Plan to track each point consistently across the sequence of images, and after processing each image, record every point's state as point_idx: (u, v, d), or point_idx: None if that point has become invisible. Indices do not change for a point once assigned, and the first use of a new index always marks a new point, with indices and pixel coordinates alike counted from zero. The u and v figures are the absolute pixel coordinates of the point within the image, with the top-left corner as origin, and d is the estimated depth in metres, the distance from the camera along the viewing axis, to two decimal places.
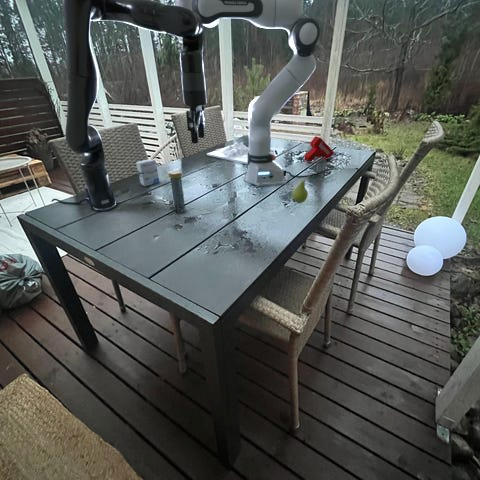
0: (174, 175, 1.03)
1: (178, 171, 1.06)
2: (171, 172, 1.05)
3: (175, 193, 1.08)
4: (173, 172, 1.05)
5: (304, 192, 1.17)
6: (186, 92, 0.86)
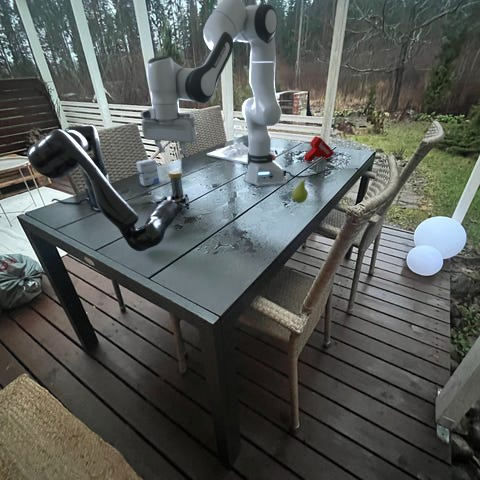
0: (174, 175, 1.03)
1: (178, 171, 1.06)
2: (171, 172, 1.05)
3: (175, 193, 1.08)
4: (173, 172, 1.05)
5: (304, 192, 1.17)
6: None
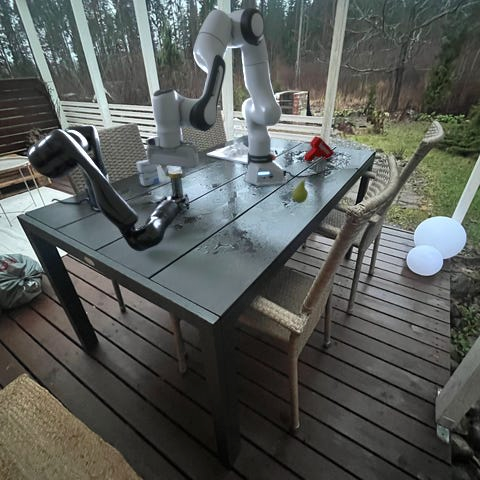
0: (174, 175, 1.03)
1: (178, 171, 1.06)
2: (171, 172, 1.05)
3: (175, 193, 1.08)
4: (173, 172, 1.05)
5: (304, 192, 1.17)
6: None
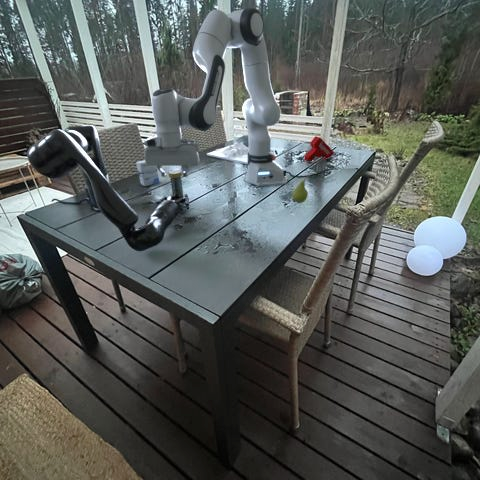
0: (179, 174, 1.04)
1: (176, 170, 1.06)
2: (172, 172, 1.04)
3: (175, 193, 1.08)
4: (174, 172, 1.04)
5: (304, 192, 1.17)
6: None
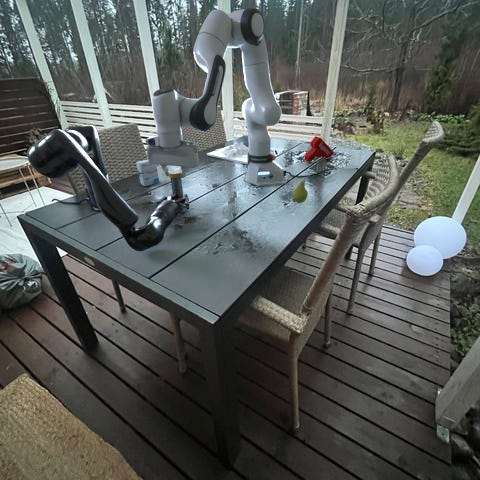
0: (179, 174, 1.04)
1: (176, 170, 1.06)
2: (173, 172, 1.04)
3: (175, 193, 1.08)
4: (174, 172, 1.04)
5: (304, 192, 1.17)
6: None
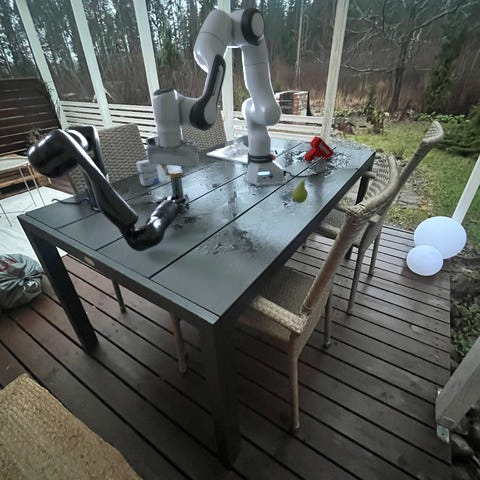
0: None
1: (173, 170, 1.06)
2: (175, 172, 1.04)
3: (175, 193, 1.08)
4: (176, 171, 1.04)
5: (304, 192, 1.17)
6: None
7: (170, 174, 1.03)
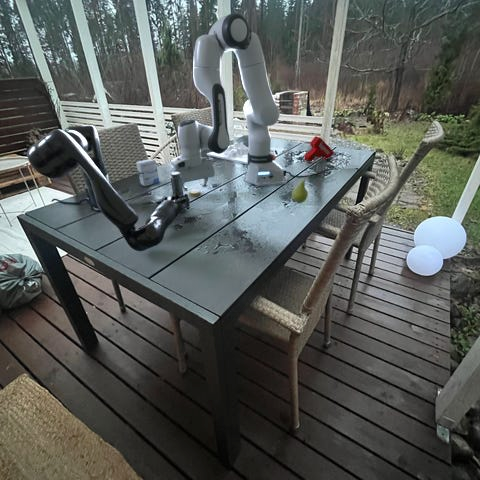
0: None
1: (191, 190, 1.29)
2: (196, 191, 1.28)
3: (175, 193, 1.08)
4: (195, 191, 1.29)
5: (304, 192, 1.17)
6: None
7: (194, 194, 1.27)
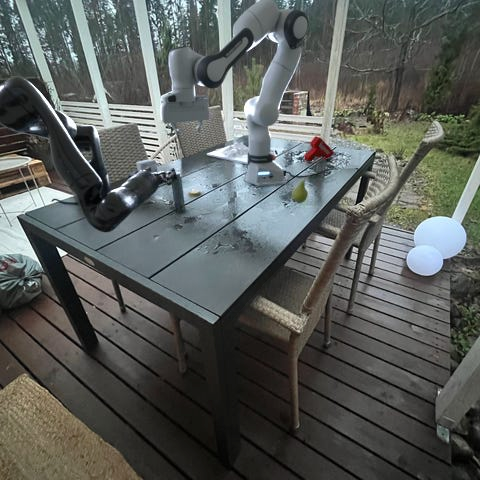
0: None
1: (191, 190, 1.29)
2: (196, 191, 1.28)
3: (175, 193, 1.08)
4: (195, 191, 1.29)
5: (304, 192, 1.17)
6: None
7: (194, 194, 1.27)
